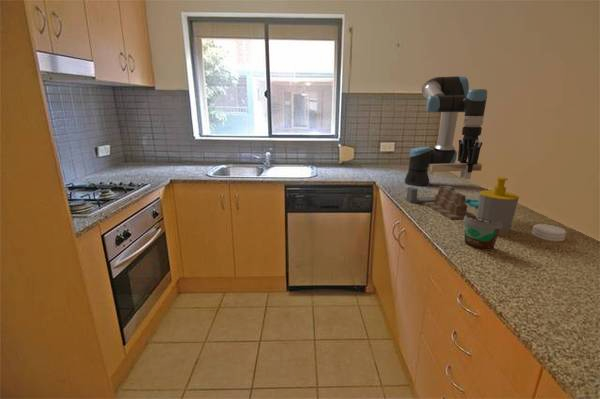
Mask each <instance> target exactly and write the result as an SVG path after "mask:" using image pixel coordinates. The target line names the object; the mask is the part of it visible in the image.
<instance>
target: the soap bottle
mask: <svg viewBox="0 0 600 399" xmlns="http://www.w3.org/2000/svg"><path fill="white" fill-rule="evenodd" d="M495 179H496V180H497V183H496V184H497V185H495V186H494V188H493V189H491V190H489V189H487V190H481V191H480V192H479V196H478V200H479V204H478V208H477V215H476V218H478V219H485V220H488V221H490V222H494V223H500V222H502V224H503V228H501V229H500V230H499V233H498V236H505V235H509V233H510V231H511V227H512V223H513V220H514V216H515V212H516V209H517V205H518V202H519V199H520V196H519V195H518V194H515V193H513V192H508V191H506V190H507V187H506V186H505V184H506V183H505V182H506V181H508V180H509V179H508V178H506V177H503V176H502V177H501V176H499V177H495Z"/></svg>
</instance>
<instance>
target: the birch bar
mask: <svg viewBox="0 0 600 399" xmlns="http://www.w3.org/2000/svg"><path fill="white" fill-rule="evenodd" d="M466 164H468V163H460V162H459V163H456V162H455V163H452V164H429V167H428V172H431V173H432V172H433V173H435V172H436V173H438V172H439V173H440V172H460V171H465V168H466ZM482 167H483V164H482V163H478V162H477V164H475V165H473V169H472V172H473V171H474V172H476V171H480V172H481V171H482Z"/></svg>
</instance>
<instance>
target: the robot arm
mask: <svg viewBox="0 0 600 399" xmlns="http://www.w3.org/2000/svg"><path fill="white" fill-rule="evenodd" d="M421 93H422V96H423V97H424V98H425V99H427V100H426V111H427V112H428V113H434V114H435V113H441V117H440V118H441V119H440V125H439V131H438V138H437V144H436V145H434V146H433V149H432V148H431V147H430V146H418V147H413V148H412V149H410V152H409V160H408V161H409V162H408V170H407V173H406V176H405V177H404V184H405V185H409V186H415V187H416V186H420V187H422V186H423V187H424V186H429V185H430V178H429V174H428V173H429V171H428V167H429V164H452V163H456V162H459V163H468V164H466V168H465V171H459V175H458V178H461V179H462V178H463V179H464V180H471V178H472V173H473V171H472V169H473V165H475V164H477V163H478V162H479V157H480V153H481V147H482V145H483V142H482V141H479V136H481V135H482V129H483V128H482V126H483V124H484V119H485V110H486V105H487V104H486V103H487V99H488V90H487V89H484V88H476V89H470V85H469V79H468V78H467V77H466V76H457V75H456V76H437V77H433V78H431V79H429V80H428V81H426V82H425V83H424V84H423V86H422V88H421ZM459 113H464V118H463V126H462V130H461V135H462V136H463V137H462V139H458V152H457V150H456V149H455V146H454V145H453V144H454V139H455V132H456V126H457V121H458V116H459Z"/></svg>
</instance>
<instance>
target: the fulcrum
mask: <svg viewBox="0 0 600 399" xmlns="http://www.w3.org/2000/svg"><path fill="white" fill-rule="evenodd" d="M444 186H445V185H439V186H438V192H437V194H435V195H434V197H435V200H434V202H424V205H425V206H426V207H428V208H430V209H431V210H433V211H435V212H437V213H439V214H440V215H442V216H443V217H446V218H447V219H449V220H463V219H464V217H465V215H466V214H467V217H472V218H477V215H476V214H474V213H472V212H469V211H467V209H468V204H467V203H465V198H467V196H466V195H465V194H463V193H460V192H459V191H458V192H457V191H456V190H454V191H453V190H451V189H449V188H446V187H444Z"/></svg>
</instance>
